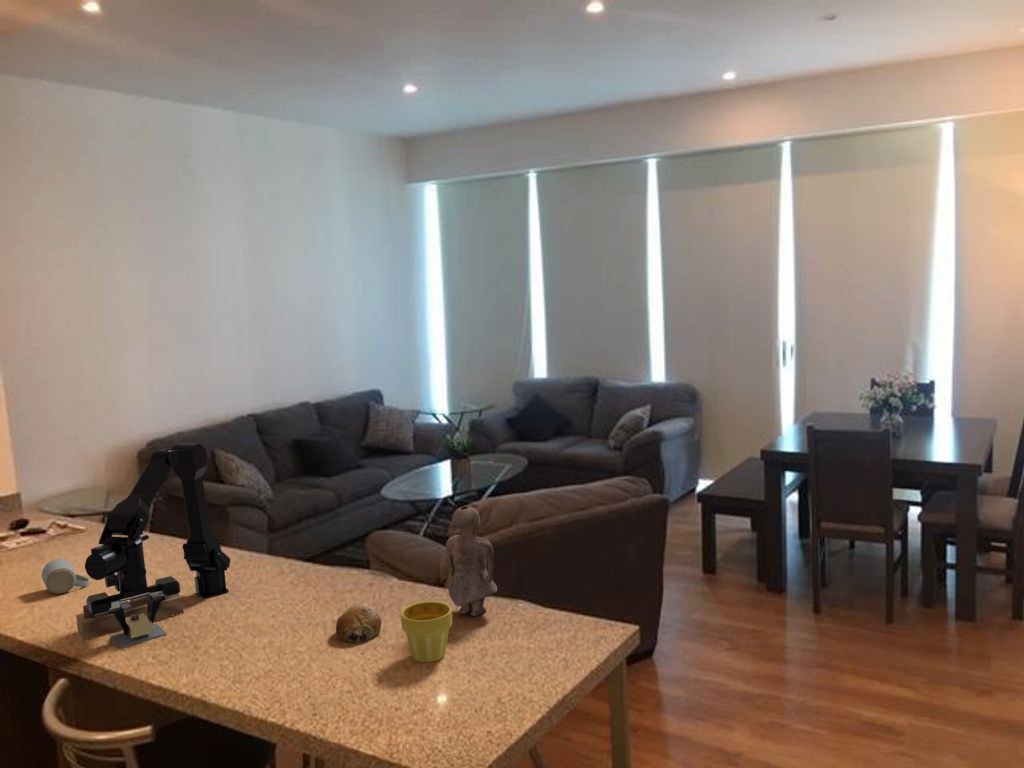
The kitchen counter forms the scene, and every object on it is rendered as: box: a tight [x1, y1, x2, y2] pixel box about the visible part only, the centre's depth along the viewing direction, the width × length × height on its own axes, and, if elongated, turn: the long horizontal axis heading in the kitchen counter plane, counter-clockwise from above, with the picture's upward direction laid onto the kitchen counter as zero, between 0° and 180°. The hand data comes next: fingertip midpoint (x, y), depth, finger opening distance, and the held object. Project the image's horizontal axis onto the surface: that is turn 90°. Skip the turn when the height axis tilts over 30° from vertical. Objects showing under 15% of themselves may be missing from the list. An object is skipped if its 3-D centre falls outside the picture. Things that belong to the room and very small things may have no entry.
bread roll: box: [335, 604, 382, 643], centre depth 189 cm, size 10×10×8 cm
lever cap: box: [125, 613, 153, 638], centre depth 194 cm, size 7×5×3 cm, turn 38°
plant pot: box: [400, 600, 453, 663], centre depth 176 cm, size 10×10×10 cm
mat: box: [110, 622, 167, 649], centre depth 194 cm, size 10×8×1 cm
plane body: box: [75, 593, 184, 640], centre depth 202 cm, size 22×6×6 cm, turn 127°
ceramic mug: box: [41, 558, 90, 595], centre depth 228 cm, size 11×8×8 cm
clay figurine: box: [445, 505, 498, 617], centre depth 197 cm, size 13×10×25 cm
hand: (138, 630), depth 194 cm, fingers open, 5 cm apart
